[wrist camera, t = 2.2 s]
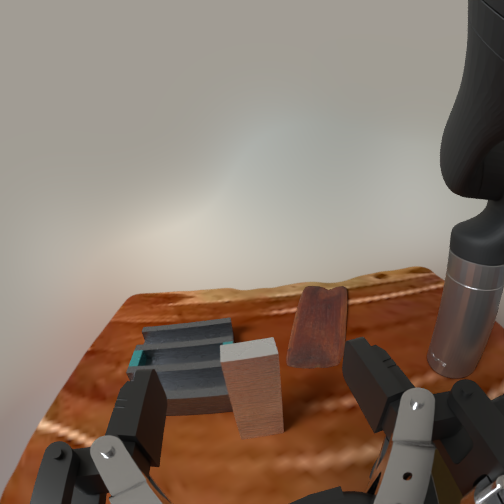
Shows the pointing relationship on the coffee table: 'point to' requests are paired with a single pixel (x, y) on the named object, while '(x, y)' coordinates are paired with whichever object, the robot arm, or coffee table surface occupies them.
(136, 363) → the rack
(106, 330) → the coffee table surface
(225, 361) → the panel
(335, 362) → the wooden tablet
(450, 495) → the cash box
